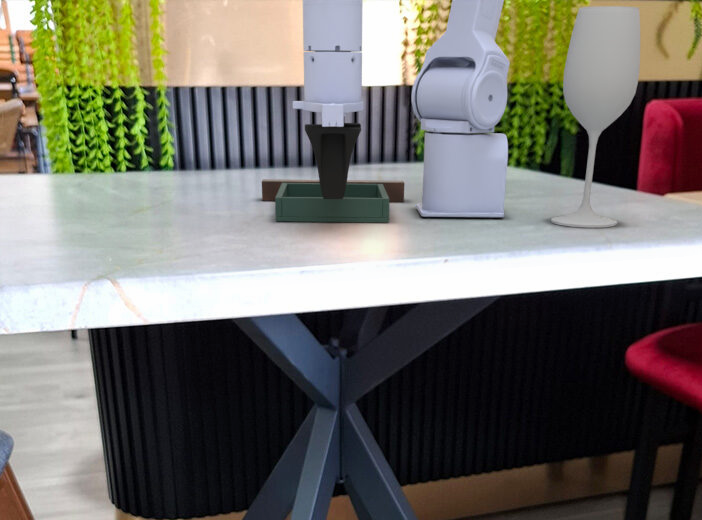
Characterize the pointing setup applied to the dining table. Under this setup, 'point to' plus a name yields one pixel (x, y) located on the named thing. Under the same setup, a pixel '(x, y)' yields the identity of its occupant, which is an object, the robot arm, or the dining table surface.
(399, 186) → the bar
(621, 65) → the wineglass
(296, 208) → the tray
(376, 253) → the dining table surface
